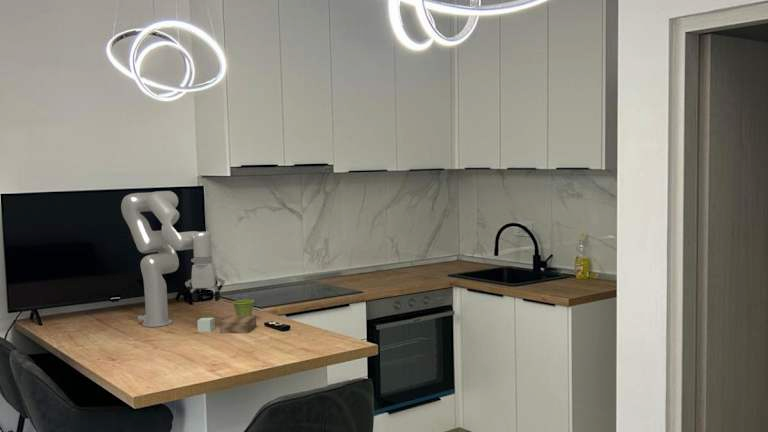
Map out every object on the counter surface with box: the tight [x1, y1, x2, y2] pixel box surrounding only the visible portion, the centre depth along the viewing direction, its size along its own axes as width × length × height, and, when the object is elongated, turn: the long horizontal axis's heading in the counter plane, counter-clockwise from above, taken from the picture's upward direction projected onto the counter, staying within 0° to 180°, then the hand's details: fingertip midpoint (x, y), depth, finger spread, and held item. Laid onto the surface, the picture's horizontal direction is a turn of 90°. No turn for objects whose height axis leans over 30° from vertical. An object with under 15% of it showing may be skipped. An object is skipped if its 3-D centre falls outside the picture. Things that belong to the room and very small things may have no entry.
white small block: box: [196, 317, 216, 333], centre depth 311 cm, size 6×6×5 cm
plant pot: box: [232, 299, 255, 316], centre depth 330 cm, size 9×9×9 cm
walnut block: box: [218, 315, 257, 334], centre depth 309 cm, size 12×12×5 cm
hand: (206, 301), depth 310 cm, fingers open, 9 cm apart
